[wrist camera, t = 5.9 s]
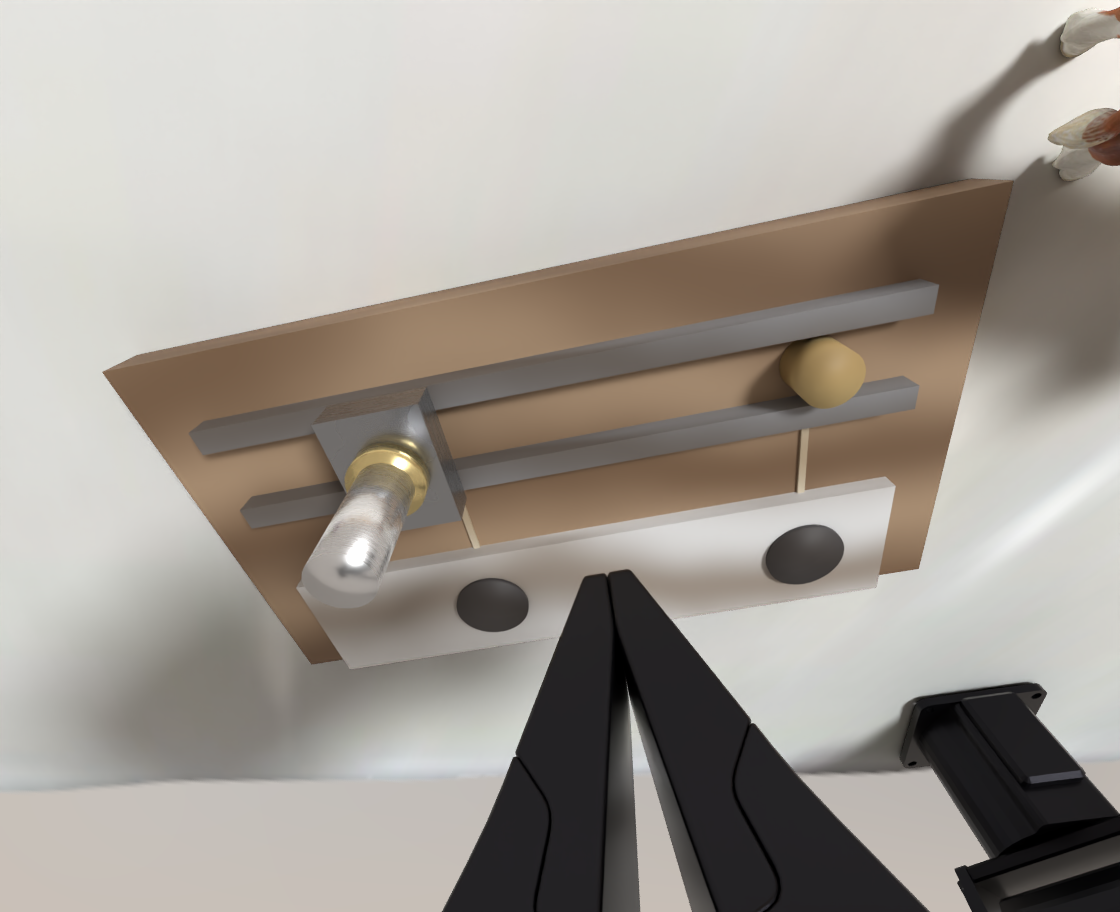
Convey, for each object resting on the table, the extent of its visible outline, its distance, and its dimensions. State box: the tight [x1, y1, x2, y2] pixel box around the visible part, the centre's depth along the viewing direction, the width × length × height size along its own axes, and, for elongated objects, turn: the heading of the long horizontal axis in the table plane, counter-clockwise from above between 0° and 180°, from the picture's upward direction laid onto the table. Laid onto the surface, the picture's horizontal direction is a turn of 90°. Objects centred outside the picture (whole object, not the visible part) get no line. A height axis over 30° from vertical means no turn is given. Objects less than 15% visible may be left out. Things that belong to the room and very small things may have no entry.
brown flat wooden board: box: [102, 179, 1014, 670], centre depth 17 cm, size 14×26×3 cm, turn 101°
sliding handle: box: [302, 386, 467, 608], centre depth 13 cm, size 4×3×5 cm
